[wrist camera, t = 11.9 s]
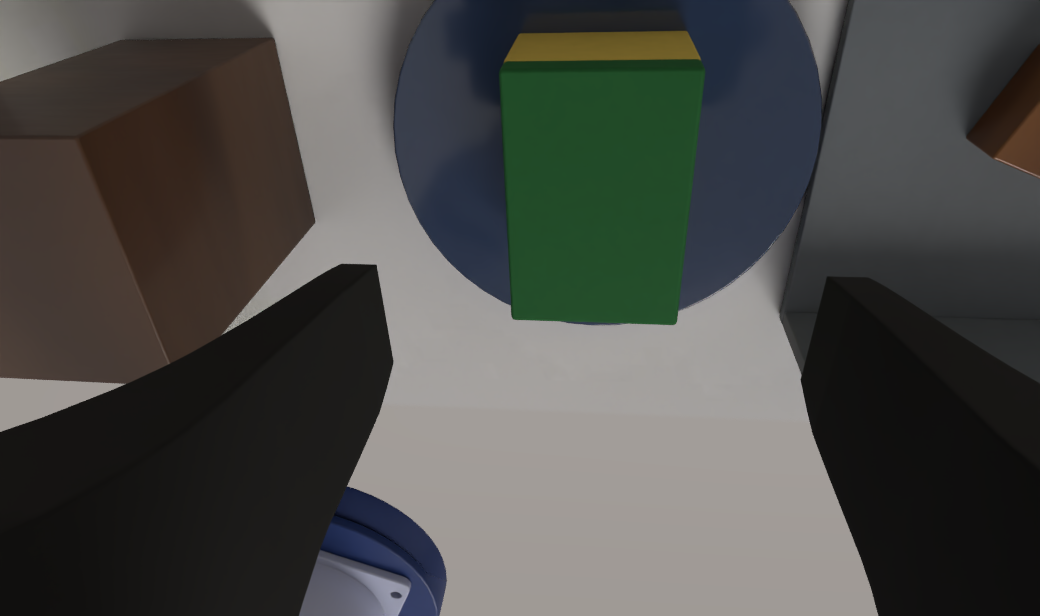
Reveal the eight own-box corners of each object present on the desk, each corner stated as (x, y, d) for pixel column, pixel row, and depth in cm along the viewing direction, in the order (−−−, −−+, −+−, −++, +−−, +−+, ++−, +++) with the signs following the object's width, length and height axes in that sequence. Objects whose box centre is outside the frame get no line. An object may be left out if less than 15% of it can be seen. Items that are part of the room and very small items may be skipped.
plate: (427, 299, 22) (418, 319, 21) (376, -86, 16) (360, -83, 15) (770, 310, 21) (778, 332, 20) (856, -103, 15) (874, -101, 14)
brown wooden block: (182, 220, 21) (-11, 377, 15) (120, 39, 18) (-159, 136, 12) (316, 222, 21) (179, 387, 14) (275, 37, 18) (76, 136, 11)
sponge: (525, 252, 19) (511, 320, 16) (517, 33, 16) (498, 69, 13) (666, 255, 19) (677, 326, 16) (688, 30, 15) (706, 67, 13)
